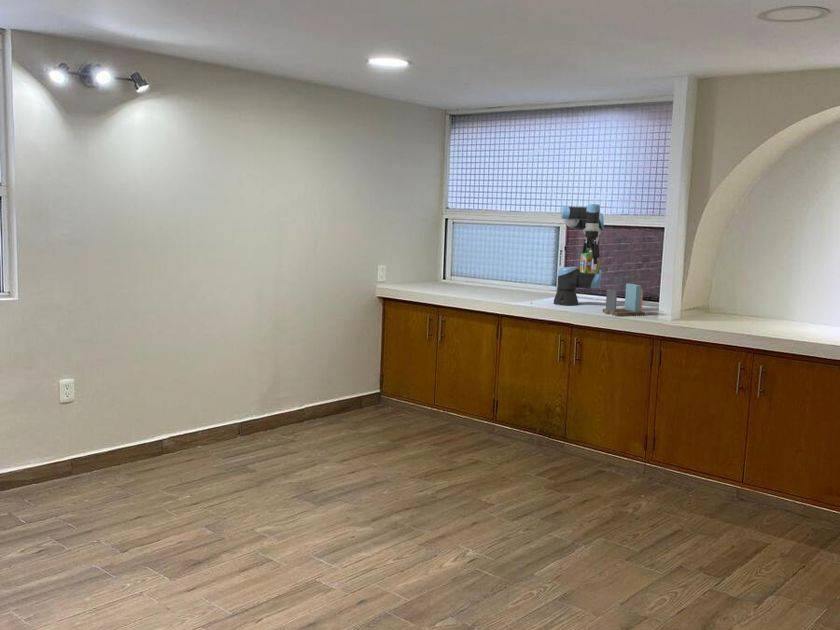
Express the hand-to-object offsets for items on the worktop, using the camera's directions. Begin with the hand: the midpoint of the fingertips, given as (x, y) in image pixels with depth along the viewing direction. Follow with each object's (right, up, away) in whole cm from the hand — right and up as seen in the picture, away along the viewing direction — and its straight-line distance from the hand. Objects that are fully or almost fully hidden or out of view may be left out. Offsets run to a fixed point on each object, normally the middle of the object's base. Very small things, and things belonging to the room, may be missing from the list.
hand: (589, 268), depth 475 cm
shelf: (+18, -27, -9) cm, 33 cm away
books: (+24, -25, -7) cm, 35 cm away
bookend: (+10, -25, -11) cm, 29 cm away
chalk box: (0, -3, 0) cm, 3 cm away
